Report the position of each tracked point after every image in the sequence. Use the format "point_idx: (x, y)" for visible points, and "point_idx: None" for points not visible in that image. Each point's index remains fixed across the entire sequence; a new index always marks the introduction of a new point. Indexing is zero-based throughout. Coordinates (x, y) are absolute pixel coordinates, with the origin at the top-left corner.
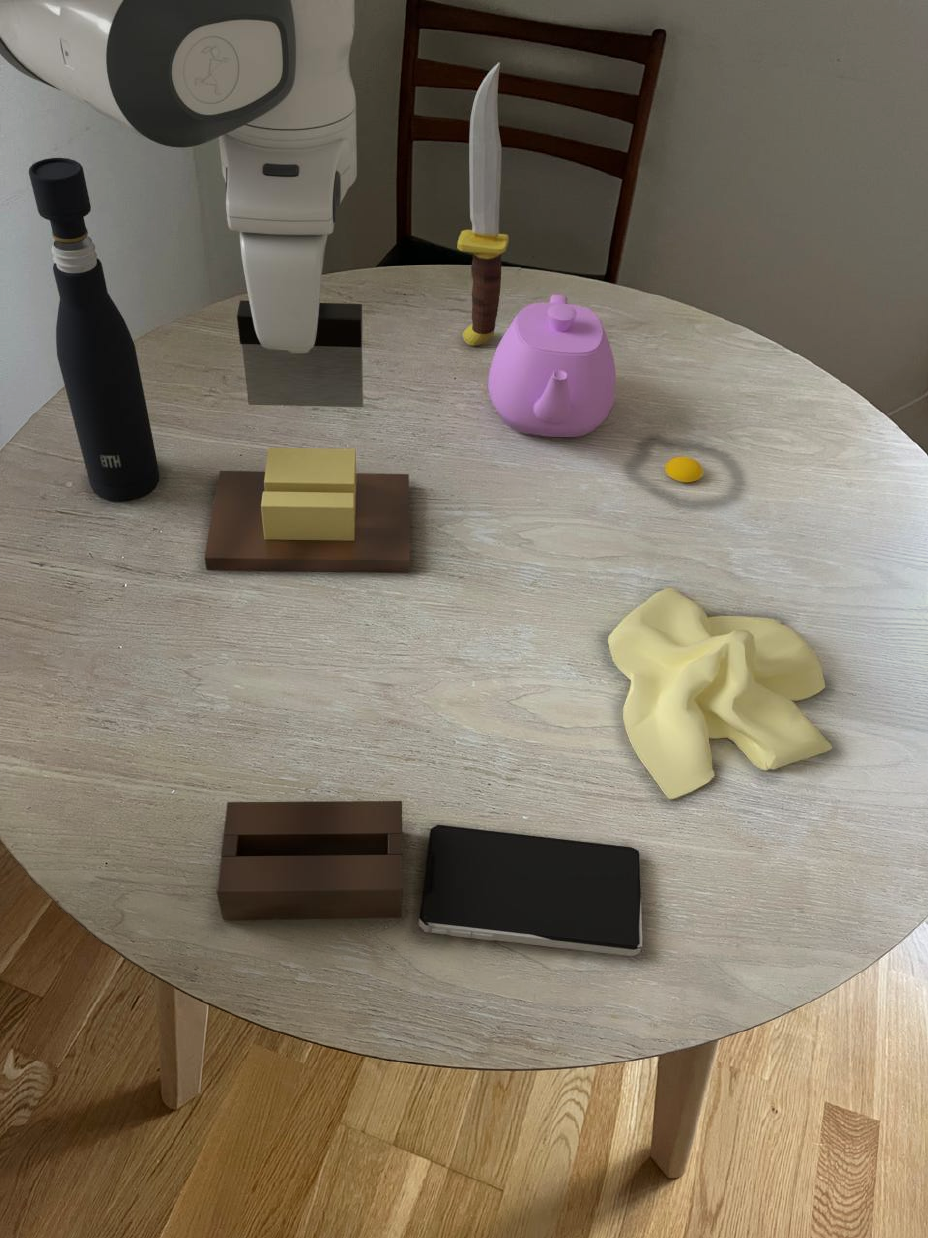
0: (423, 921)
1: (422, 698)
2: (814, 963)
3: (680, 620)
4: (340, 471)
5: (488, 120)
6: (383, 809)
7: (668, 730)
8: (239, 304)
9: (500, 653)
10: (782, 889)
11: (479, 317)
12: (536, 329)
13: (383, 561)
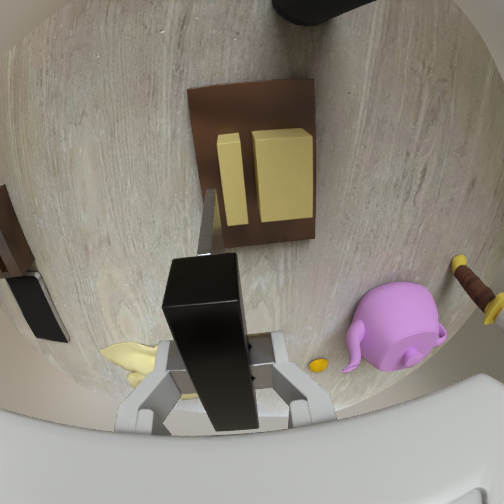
0: None
1: (106, 261)
2: (65, 371)
3: None
4: (277, 208)
5: None
6: (15, 269)
7: (129, 356)
8: (217, 302)
9: (153, 296)
10: (83, 370)
11: (462, 276)
12: (410, 342)
13: None
